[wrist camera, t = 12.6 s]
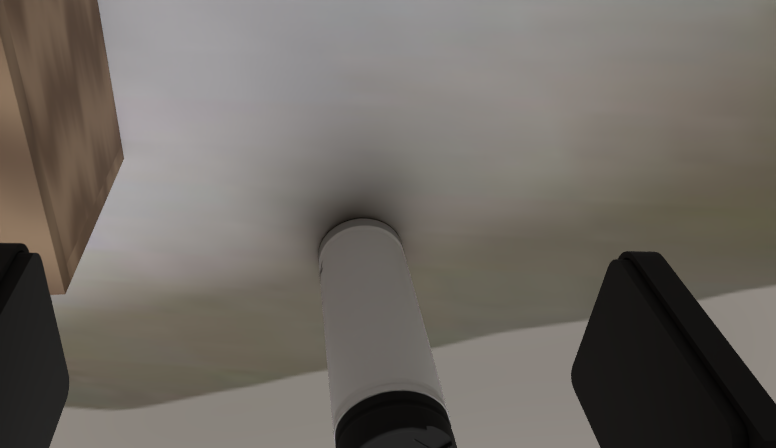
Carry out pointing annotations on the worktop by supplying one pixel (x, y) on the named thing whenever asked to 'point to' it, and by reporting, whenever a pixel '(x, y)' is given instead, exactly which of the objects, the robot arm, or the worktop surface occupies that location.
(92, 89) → the box
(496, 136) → the worktop surface
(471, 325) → the worktop surface
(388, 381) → the travel mug
